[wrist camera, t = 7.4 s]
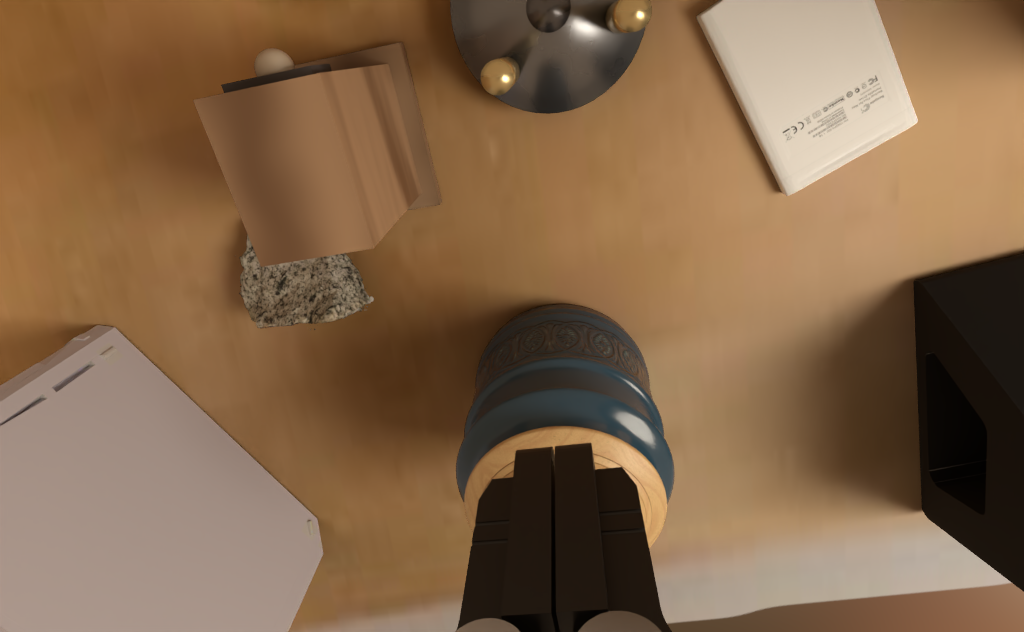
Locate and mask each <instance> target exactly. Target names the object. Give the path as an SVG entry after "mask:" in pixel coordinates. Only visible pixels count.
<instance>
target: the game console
mask: <svg viewBox="0 0 1024 632" xmlns="http://www.w3.org/2000/svg"><path fill="white" fill-rule="evenodd" d="M322 555H323V549H322V543H321V537H320V532H319V526H318V520H317V518H316V517H315V516H314V515H313V514H312V513H311V512H309V511H308V510H307V509H306V508H305V507H304V506H303V505H302V504H301V503H300V502H299V501H298V500H297V499H296V498H295V497H294V496H293V495H291V494H290V493H289V492H288V491H287V490H286V489H285V488H284V487H283V486H282V485H281V484H280V483H279V482H278V481H277V480H276V479H275V478H273V477H272V476H271V475H270V474H269V473H268V472H267V471H266V470H265V469H264V468H263V467H262V466H261V465H260V464H259V463H258V462H257V461H255V460H254V459H253V458H252V457H251V456H250V455H249V454H248V453H247V452H246V451H245V450H244V449H243V448H242V447H241V446H240V445H239V444H237V443H236V442H235V441H234V440H233V439H232V438H231V437H230V436H229V435H228V434H227V433H226V432H225V431H224V430H223V429H222V428H221V427H219V426H218V425H217V424H216V423H215V422H214V421H213V420H212V419H211V418H210V417H209V416H208V415H207V414H206V413H205V412H204V411H203V410H201V409H200V408H199V407H198V406H197V405H196V404H195V403H194V402H193V401H192V400H191V399H190V398H189V397H188V396H187V395H186V394H185V393H183V392H182V391H181V390H180V389H179V388H178V387H177V386H176V385H175V384H174V383H173V382H172V381H171V380H170V379H169V378H168V377H167V376H165V375H164V374H163V373H162V372H161V371H160V370H159V369H158V368H157V367H156V366H155V365H154V364H153V363H152V362H151V361H150V360H149V359H147V358H146V357H145V356H144V355H143V354H142V353H141V352H140V351H139V350H138V349H137V348H136V347H135V346H134V345H133V344H132V343H131V342H129V341H128V340H127V339H126V338H125V337H124V336H123V335H122V334H121V333H120V332H119V331H118V330H117V329H116V328H115V327H109V326H102V325H97V326H95V327H93V328H92V329H90V330H89V331H87V332H85V333H84V334H80V335H78V336H77V337H75V338H73V339H72V340H71V341H69V342H68V343H67V344H65V345H64V347H63V348H61V349H60V350H58V351H56V352H55V353H53V354H52V355H50V356H49V357H47V358H45V359H44V360H42V361H41V362H39V363H36V364H35V365H33V366H31V367H30V368H28V369H26V370H25V371H23V372H22V373H20V374H18V375H17V376H15V377H13V378H12V379H10V380H9V381H7V382H5V383H4V384H2V385H0V632H288V631H289V629H290V627H291V624H292V622H293V620H294V618H295V615H296V613H297V611H298V609H299V607H300V604H301V602H302V600H303V598H304V595H305V593H306V591H307V589H308V587H309V584H310V582H311V580H312V578H313V575H314V573H315V571H316V569H317V566H318V564H319V562H320V560H321V558H322Z"/></svg>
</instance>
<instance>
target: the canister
mask: <svg viewBox="0 0 1024 632" xmlns="http://www.w3.org/2000/svg"><path fill="white" fill-rule="evenodd" d="M475 386H476V390H475V395H474V399H473V404H472V406H471V409H470V411H469V413H468V416H467V419H466V423H465V430H464V440H463V442H462V444H461V447H460V449H459V453H458V457H457V462H456V478H457V484H458V488H459V492H460V495H461V497H462V499H463V502H464V507H465V513H466V517H467V521H468V523H469V526H470V528H471V530H472V532H474V527H475V520H476V513H477V507H478V501H479V498H480V497H481V495H482V494H483V492H484V491H485V489H486V488H487V486H488V485H489V483H490V482H491V480H492V479H498V478H509V477H513V472H514V461H515V453H516V450H522V449H532V448H542V447H553V450H554V454H555V446H561V445H571V444H581V443H592V449H593V456H594V463H595V469H605V468H616V467H622V468H623V469H624V470H625V471H626V473H627V474H628V475H629V476H630V478H631V479H632V480H633V481H634V483H635V484H636V485H637V489H638V494H639V499H640V504H641V510H642V515H643V520H644V525H645V531H646V535H647V541H648V546H649V548H650V547H651V545H652V544H653V543H654V542H655V540H656V539H657V537H658V536H659V534H660V532H661V530H662V528H663V525H664V522H665V518H666V513H667V503H668V501H669V499H670V496H671V493H672V489H673V484H674V463H673V458H672V454H671V452H670V449H669V447H668V444H667V442H666V440H665V439H664V430H663V424H662V419H661V416H660V414H659V411H658V409H657V407H656V405H655V403H654V401H653V399H652V395H651V391H650V384H649V375H648V371H647V367H646V364H645V361H644V358H643V356H642V354H641V352H640V350H639V348H638V346H637V345H636V344H635V342H634V341H633V340H632V338H631V337H630V336H629V335H628V334H627V332H626V331H625V330H624V329H623V328H622V327H621V326H620V325H619V324H618V323H616V322H615V321H614V320H612V319H611V318H609V317H608V316H606V315H604V314H602V313H600V312H598V311H595V310H593V309H590V308H586V307H582V306H577V305H569V304H555V305H547V306H541V307H537V308H534V309H531V310H528V311H526V312H524V313H522V314H520V315H518V316H516V317H514V318H513V319H511V320H510V321H509V322H507V323H506V324H505V325H504V326H503V327H502V328H501V329H500V330H499V331H498V332H497V333H496V334H495V336H494V337H493V339H492V340H491V341H490V343H489V344H488V345H487V347H486V349H485V351H484V353H483V355H482V357H481V360H480V363H479V366H478V370H477V375H476V384H475Z"/></svg>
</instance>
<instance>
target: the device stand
mask: <svg viewBox="0 0 1024 632" xmlns="http://www.w3.org/2000/svg"><path fill="white" fill-rule="evenodd" d="M914 305H915V332H916V360H917V387H918V414H919V441H920V468H921V495H922V510H923V512H924V513H925V515H926V516H927V518H928V519H929V520H931V521H932V522H933V523H935V524H936V525H937V526H939V527H940V528H941V529H942V530H944V531H945V532H946V533H948V534H949V535H950V536H952V537H953V538H954V539H956V540H957V541H958V542H959V543H961V544H962V545H963V546H965V547H966V548H967V549H969V550H970V551H971V552H973V553H974V554H975V555H977V556H978V557H979V558H980V559H982V560H983V561H984V562H986V563H987V564H988V565H990V566H991V567H992V568H994V569H995V570H996V571H997V572H999V573H1000V574H1001V575H1003V576H1004V577H1005V578H1007V579H1008V580H1009V581H1011V582H1012V583H1013V584H1015V585H1016V586H1017V587H1019V588H1020V589H1021V590H1022V591H1024V253H1023V254H1019V255H1015V256H1011V257H1007V258H1004V259H1000V260H996V261H992V262H988V263H984V264H980V265H976V266H972V267H968V268H964V269H960V270H956V271H952V272H948V273H944V274H940V275H936V276H932V277H928V278H924V279H920V280H916V281H914Z"/></svg>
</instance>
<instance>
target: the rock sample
mask: <svg viewBox="0 0 1024 632" xmlns="http://www.w3.org/2000/svg"><path fill="white" fill-rule="evenodd" d="M240 259H241V264H242V266H243V268H244V271H243V272H242V274H241V275H240V282H241V285H242V286H240V287H241V292H240V293H239V294H241V296H242V298H243V299H244V304H245V307H246V308H247V309H248V311H249V314H250V317H251V320H253V321H254V322H256V325H257V327H258V328H264V327H265V328H267V327H279V326H292V325H294V324H298V323H306V324H307V323H311V324H312V323H315V324H316V323H325V322H332V321H335V320H339V319H342V318H345V317H347V315H351V314H354V313H355V312H356V311H362V307H364V306H365V304H369V303H370V302H372V301H373V300H374V298H373V297H372V296H370V297H369V295H367V293H366V291H365V290H364V285H363V283H362V281H363V280H362V278H361V276H360V274H359V271H358V270H357V269H356V268H355V266H354V265H353V264H352V262H351V259H350V258H349V257H348V256H347V255H346V254H345V253H343V254H337V255H331V256H325V257H319V258H312V259H306V260H300V261H294V262H288V263H282V264H276V265H270V266H264V267H261V266H260V263H259V261H258V258H257V256H256V253H255V251H254V249H253V246H252V244H251V241H250V239H249V236H248V234H247V249H246V251H245V252H244V253H243V255H242V256H241V257H240ZM367 307H368V306H367ZM363 309H364V308H363ZM364 311H365V310H364ZM310 330H311V329H310ZM314 330H315V329H314Z"/></svg>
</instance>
